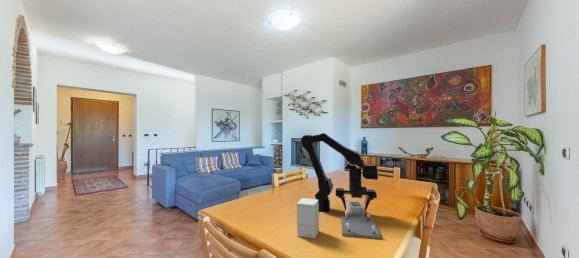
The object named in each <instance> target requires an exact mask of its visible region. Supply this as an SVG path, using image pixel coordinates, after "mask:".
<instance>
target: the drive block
mask: <svg viewBox="0 0 579 258" xmlns="http://www.w3.org/2000/svg"><path fill="white" fill-rule="evenodd" d="M346 203H347V204H346V211H348V215H349V216H350V217H355V218H366V216H365V213H366V212H365V205H363V203H361V201H360V200H346Z"/></svg>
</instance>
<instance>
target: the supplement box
mask: <svg viewBox="0 0 579 258" xmlns="http://www.w3.org/2000/svg"><path fill="white" fill-rule="evenodd" d="M319 214H320V211H319V201H318V200H317V199H316V198H303V197H301V198H300V199H299V200H298V202H297V203H296V232H297V233H296V235H297V237H301V238H310V239H313V240H314V239H315V240H316V238H317V236H318V234H319V232H320V223H319V222H320V217H319V216H320V215H319Z"/></svg>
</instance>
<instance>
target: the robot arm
mask: <svg viewBox="0 0 579 258" xmlns="http://www.w3.org/2000/svg"><path fill="white" fill-rule="evenodd" d="M320 142H323V143H324V144H326V145H327V146H329V147H330V148H332V149H333V150H335V151H336V152H338V153H339V154H341V155H342V156H343V158H344V159H345V160H346V161H347V162H348V164H347V165H346V166H345V167H344V169H345V170H348V185H349V186H348V189H345V188H344V187H336V188H335V196H336V197H338V199H340V200H341V202H342V205H343V207H344V210H345V211H347V204H346V203H347V202H346V197H345V195H349V196H350V197H351V198H352V199H356V198H357V199H362V198H363V196H365V200H364V207H365V213H367V209H368V207H369V204H370V203H371V201H373V200H374V199H378V196H377V194H378V193H377V191H376V190H375V189H371V188H369V189H368V188H367V186H363V185H362V177H363V178H364V179H365V180H373V181H375V180H376V181H378V180H379V171H378V165H377V164H366V163H365V162H364V160H363V159H362V154H361V153H360V152H358V151H355V150H353V149H351V148H348V147H346V146H345V145H343V144H342V143H340V142H338V140H335V139H334V138H332V137H331V136H329V135H328V134H327V133H323V132H322V133H319V134H313V135H312V134H304V135H303V136H301V139H300V143H301V145H302V147H303V148H304V150H305V151H306V152H307V153H308V156H309V159H310V161H311V165H312V167H313V170H314V172H315V174H316V175H315V176H316V178H317V188H318V190H317V192H316V193H315V194H314V199H317V200H318V201H319V212H322V213H323V212H325V213H326V212H327V213H328V212H329V211H330V209H331V200H330V194H331V193H332V192H333V191H334V187H333V186H334V184H333V182H332V179H331V177H330V178H328V176H327V175H326V173H325V170H324V168H323V165H322V162H321V160H320V157H319V155H318V152H317V144H316V143H320Z"/></svg>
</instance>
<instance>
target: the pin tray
mask: <svg viewBox="0 0 579 258" xmlns="http://www.w3.org/2000/svg"><path fill="white" fill-rule="evenodd" d="M344 213H345V214H344V215H345V216H340V219H341V235H342V236H343V237H350V238H351V237H352V238H362V239H363V238H364V239H375V240H376V239H377V240H382V235H381V232H380V230H379V228H378V226H377V223H376V221H375V219H374V218H371V213H370V212H366V217H365V218H355V217H351V216H350V217H349V212H348V211H347V210H345V212H344Z"/></svg>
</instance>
